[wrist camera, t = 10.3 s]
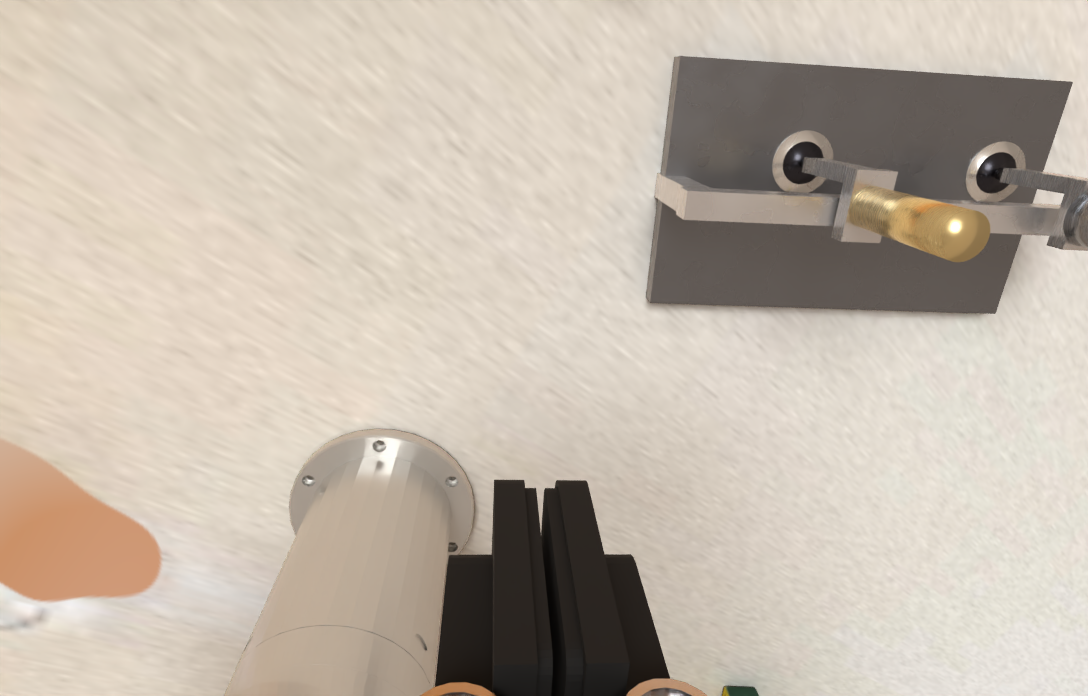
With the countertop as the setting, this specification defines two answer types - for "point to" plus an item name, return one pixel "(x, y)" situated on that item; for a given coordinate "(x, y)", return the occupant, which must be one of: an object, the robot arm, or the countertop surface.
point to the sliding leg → (898, 213)
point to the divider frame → (1070, 225)
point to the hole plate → (848, 136)
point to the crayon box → (739, 691)
